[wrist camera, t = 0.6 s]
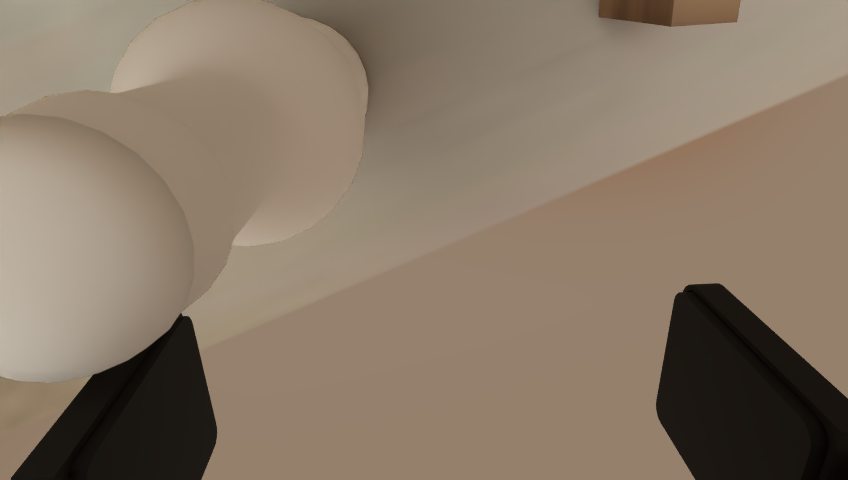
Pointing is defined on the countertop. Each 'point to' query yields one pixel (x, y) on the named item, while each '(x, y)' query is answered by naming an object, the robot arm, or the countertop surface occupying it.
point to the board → (671, 11)
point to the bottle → (167, 178)
